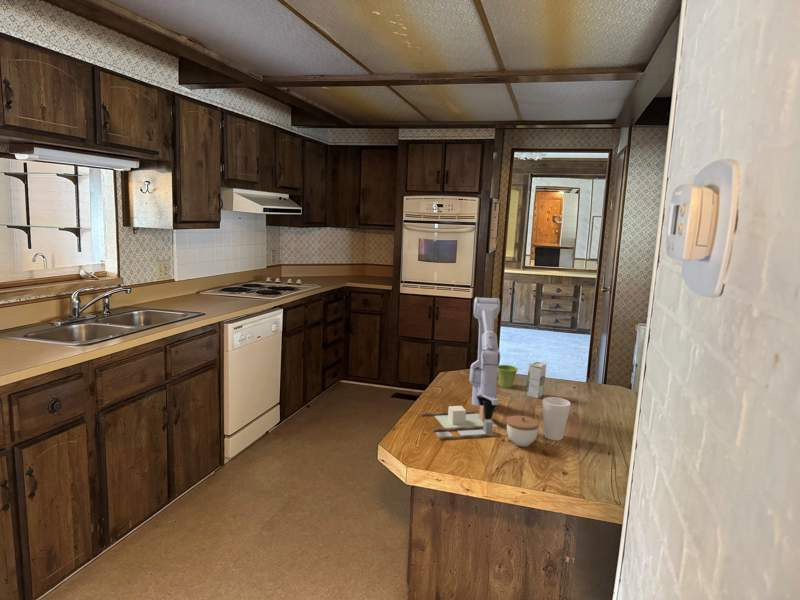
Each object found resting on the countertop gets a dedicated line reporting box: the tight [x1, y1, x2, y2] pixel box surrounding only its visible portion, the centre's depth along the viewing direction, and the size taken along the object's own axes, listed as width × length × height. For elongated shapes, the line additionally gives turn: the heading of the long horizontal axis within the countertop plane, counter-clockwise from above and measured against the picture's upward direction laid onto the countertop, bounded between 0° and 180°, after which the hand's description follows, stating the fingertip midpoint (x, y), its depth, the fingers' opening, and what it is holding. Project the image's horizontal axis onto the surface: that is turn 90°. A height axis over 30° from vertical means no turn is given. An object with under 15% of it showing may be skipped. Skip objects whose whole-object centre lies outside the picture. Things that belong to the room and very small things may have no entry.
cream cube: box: [447, 405, 467, 424], centre depth 202 cm, size 5×5×5 cm
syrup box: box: [525, 361, 547, 399], centre depth 238 cm, size 6×6×14 cm
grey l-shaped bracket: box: [457, 420, 494, 436], centre depth 193 cm, size 12×5×5 cm, turn 105°
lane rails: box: [420, 410, 499, 441], centre depth 199 cm, size 21×23×2 cm
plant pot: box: [497, 364, 519, 389], centre depth 250 cm, size 9×9×9 cm
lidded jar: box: [506, 415, 540, 447], centre depth 188 cm, size 11×11×9 cm
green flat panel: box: [434, 405, 498, 428], centre depth 203 cm, size 20×13×6 cm, turn 104°
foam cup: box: [541, 396, 572, 441], centre depth 194 cm, size 10×9×13 cm
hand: (486, 416), depth 206 cm, fingers closed on green flat panel, 3 cm apart
